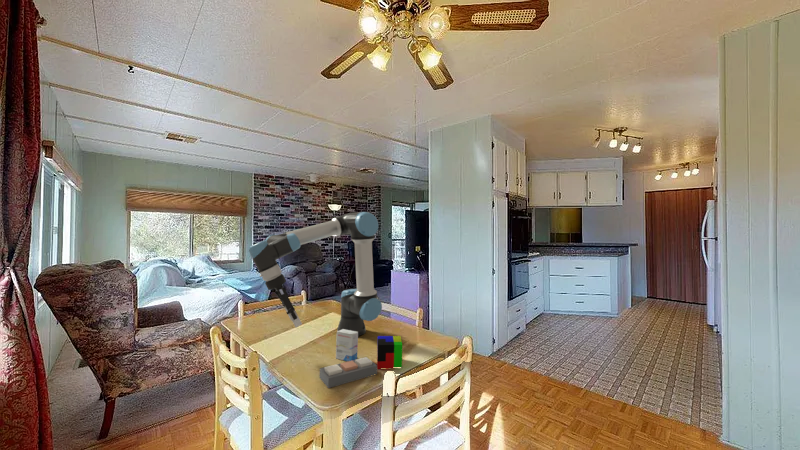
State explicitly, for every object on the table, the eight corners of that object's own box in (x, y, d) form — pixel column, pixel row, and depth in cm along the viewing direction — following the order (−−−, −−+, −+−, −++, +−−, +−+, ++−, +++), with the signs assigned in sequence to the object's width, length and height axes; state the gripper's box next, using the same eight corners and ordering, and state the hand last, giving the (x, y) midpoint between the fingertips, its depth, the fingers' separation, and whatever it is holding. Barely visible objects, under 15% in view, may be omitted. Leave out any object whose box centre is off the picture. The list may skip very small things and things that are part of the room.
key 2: (366, 363, 128) (366, 356, 128) (372, 367, 124) (372, 361, 124) (355, 365, 126) (355, 359, 126) (360, 370, 122) (361, 364, 122)
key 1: (336, 370, 121) (336, 364, 121) (342, 375, 117) (342, 369, 117) (324, 373, 118) (324, 367, 118) (329, 379, 114) (329, 372, 114)
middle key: (351, 366, 125) (352, 360, 125) (357, 371, 121) (357, 365, 121) (340, 369, 122) (340, 363, 122) (345, 375, 118) (345, 368, 118)
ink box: (358, 358, 138) (358, 331, 138) (351, 362, 133) (352, 334, 133) (341, 354, 141) (342, 328, 141) (335, 358, 137) (335, 331, 137)
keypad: (366, 365, 131) (366, 357, 131) (377, 374, 123) (377, 365, 123) (319, 377, 120) (319, 368, 120) (328, 388, 112) (328, 378, 112)
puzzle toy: (377, 358, 137) (377, 336, 137) (399, 358, 138) (400, 335, 138) (377, 369, 127) (377, 344, 127) (401, 369, 128) (402, 344, 128)
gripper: (262, 279, 139) (284, 320, 141) (266, 285, 116) (292, 334, 119) (279, 271, 142) (299, 312, 145) (285, 275, 120) (310, 323, 122)
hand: (296, 322), depth 132 cm, fingers open, 13 cm apart
